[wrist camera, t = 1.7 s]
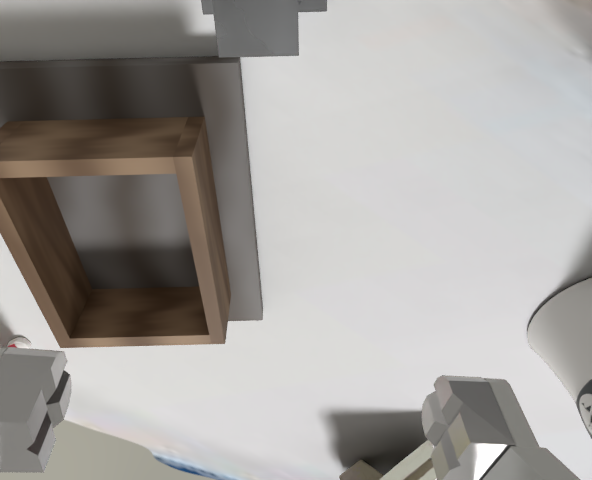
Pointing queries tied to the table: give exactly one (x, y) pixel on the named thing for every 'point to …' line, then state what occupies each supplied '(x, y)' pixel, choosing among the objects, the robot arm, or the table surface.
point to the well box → (130, 197)
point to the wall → (397, 468)
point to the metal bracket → (258, 25)
